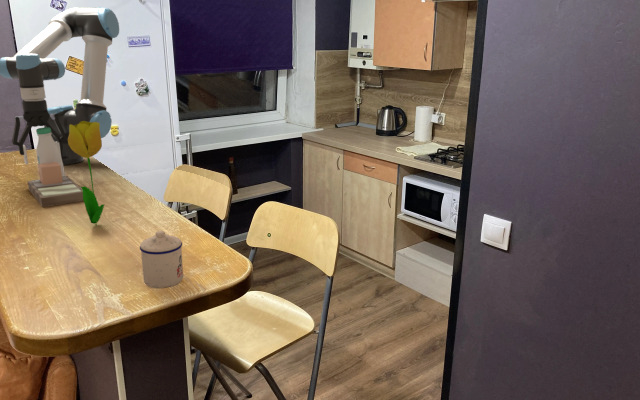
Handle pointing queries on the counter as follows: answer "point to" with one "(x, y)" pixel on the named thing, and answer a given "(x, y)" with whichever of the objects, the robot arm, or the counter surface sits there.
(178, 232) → the counter surface
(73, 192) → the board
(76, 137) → the flower
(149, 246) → the teacup with lid
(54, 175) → the terracotta block
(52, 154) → the milk bottle
